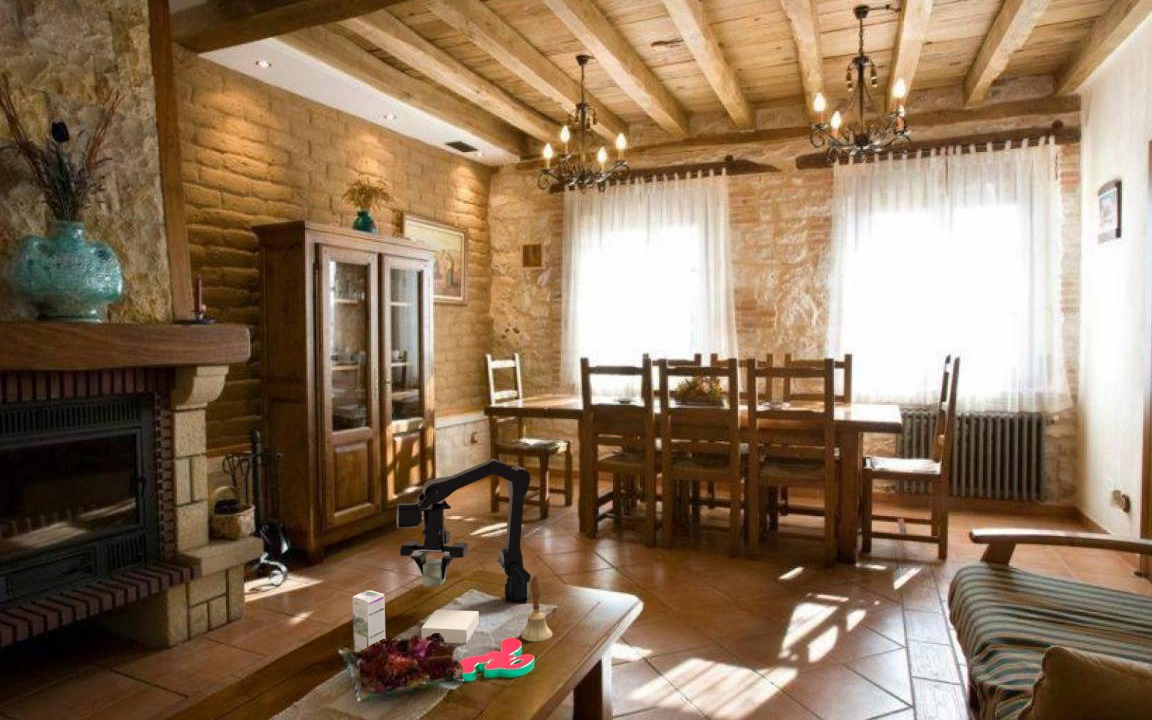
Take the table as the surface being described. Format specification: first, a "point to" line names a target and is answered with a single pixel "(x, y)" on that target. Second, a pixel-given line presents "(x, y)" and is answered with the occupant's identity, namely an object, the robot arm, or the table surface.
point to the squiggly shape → (499, 662)
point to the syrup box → (368, 619)
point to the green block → (433, 573)
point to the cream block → (451, 625)
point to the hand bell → (536, 618)
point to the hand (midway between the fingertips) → (434, 578)
